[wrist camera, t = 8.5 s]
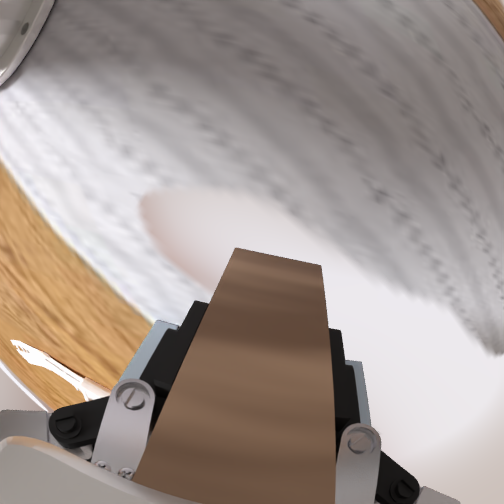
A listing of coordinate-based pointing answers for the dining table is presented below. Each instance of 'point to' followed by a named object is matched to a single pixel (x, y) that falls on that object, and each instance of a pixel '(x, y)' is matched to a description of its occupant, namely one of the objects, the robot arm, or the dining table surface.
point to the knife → (63, 372)
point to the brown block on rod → (252, 394)
